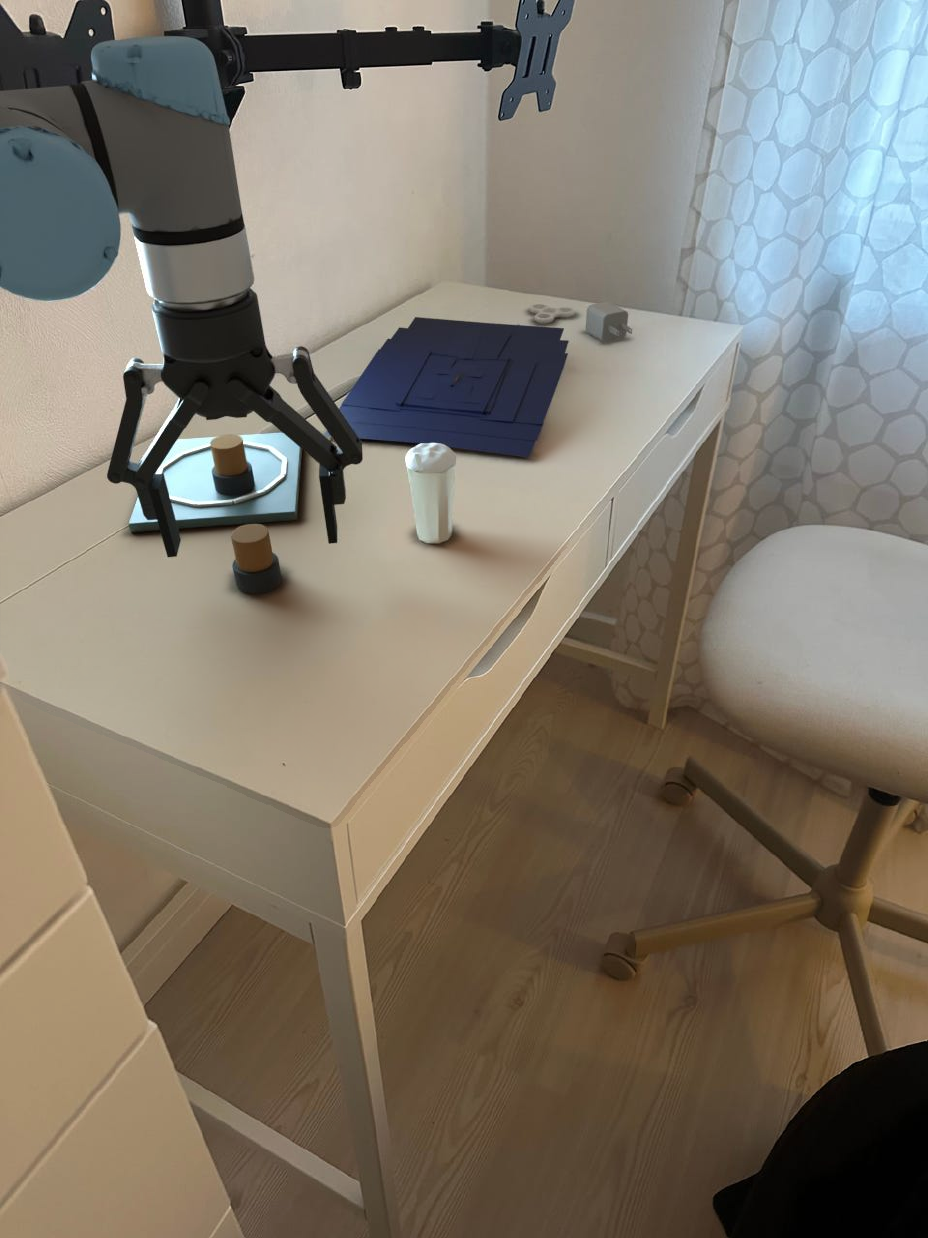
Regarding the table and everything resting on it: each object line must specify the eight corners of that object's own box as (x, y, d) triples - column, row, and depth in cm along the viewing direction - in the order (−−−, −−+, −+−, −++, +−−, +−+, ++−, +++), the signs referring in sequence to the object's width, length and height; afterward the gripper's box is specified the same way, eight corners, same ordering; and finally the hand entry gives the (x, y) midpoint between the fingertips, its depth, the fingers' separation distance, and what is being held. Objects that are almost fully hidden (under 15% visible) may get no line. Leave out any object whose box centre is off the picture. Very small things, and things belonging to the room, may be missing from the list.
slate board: (130, 532, 87) (127, 521, 86) (159, 448, 101) (157, 437, 100) (296, 520, 88) (295, 508, 87) (302, 438, 102) (301, 428, 101)
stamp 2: (234, 595, 78) (223, 547, 75) (238, 569, 81) (228, 522, 78) (280, 591, 78) (271, 543, 75) (282, 566, 81) (274, 519, 78)
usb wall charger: (609, 328, 128) (611, 300, 126) (636, 344, 123) (639, 315, 121) (585, 333, 127) (587, 305, 124) (611, 349, 122) (614, 320, 119)
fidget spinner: (577, 312, 133) (577, 307, 133) (563, 326, 129) (563, 321, 128) (533, 307, 136) (533, 301, 135) (518, 320, 131) (518, 315, 131)
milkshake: (399, 547, 84) (392, 450, 77) (421, 519, 87) (415, 424, 81) (445, 556, 82) (441, 458, 76) (464, 526, 86) (462, 431, 80)
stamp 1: (213, 497, 90) (203, 451, 87) (217, 478, 93) (208, 433, 90) (253, 494, 90) (245, 449, 87) (256, 475, 93) (248, 431, 90)
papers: (577, 348, 119) (578, 322, 116) (531, 478, 98) (531, 450, 96) (403, 334, 124) (401, 309, 121) (325, 455, 103) (320, 428, 101)
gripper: (374, 266, 68) (395, 507, 81) (39, 287, 66) (115, 530, 79) (378, 298, 62) (400, 553, 75) (9, 322, 60) (97, 579, 73)
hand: (254, 542), depth 77 cm, fingers open, 13 cm apart
